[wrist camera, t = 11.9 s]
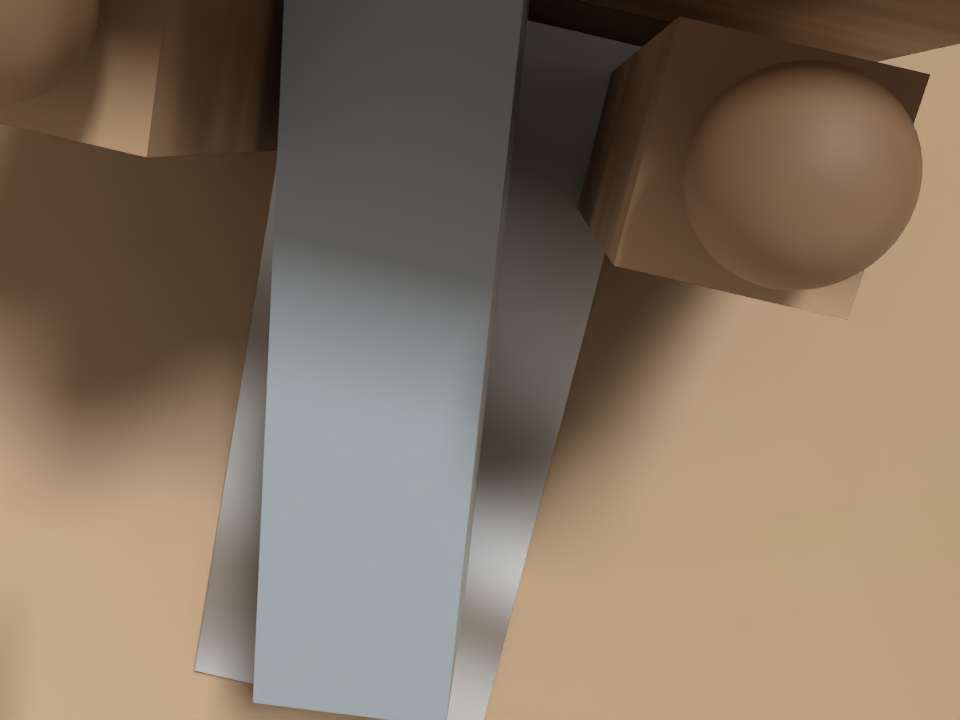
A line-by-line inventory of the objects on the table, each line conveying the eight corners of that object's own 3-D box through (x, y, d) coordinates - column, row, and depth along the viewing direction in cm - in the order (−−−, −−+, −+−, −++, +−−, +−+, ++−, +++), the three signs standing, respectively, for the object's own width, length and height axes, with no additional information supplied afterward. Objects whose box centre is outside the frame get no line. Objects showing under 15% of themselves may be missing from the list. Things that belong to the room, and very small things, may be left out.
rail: (465, 596, 26) (446, 727, 20) (314, 578, 26) (252, 702, 21) (529, -3, 22) (529, -52, 16) (351, -20, 22) (287, -76, 16)
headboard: (636, 766, 28) (769, 1567, 12) (41, 628, 28) (-582, 1252, 12) (878, 3, 22) (1698, -314, 7) (130, -170, 22) (-821, -895, 7)
